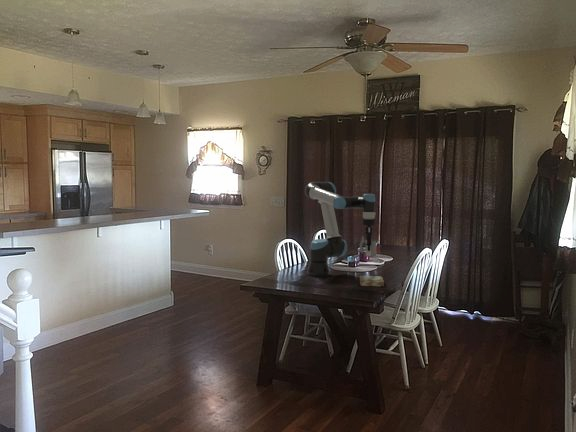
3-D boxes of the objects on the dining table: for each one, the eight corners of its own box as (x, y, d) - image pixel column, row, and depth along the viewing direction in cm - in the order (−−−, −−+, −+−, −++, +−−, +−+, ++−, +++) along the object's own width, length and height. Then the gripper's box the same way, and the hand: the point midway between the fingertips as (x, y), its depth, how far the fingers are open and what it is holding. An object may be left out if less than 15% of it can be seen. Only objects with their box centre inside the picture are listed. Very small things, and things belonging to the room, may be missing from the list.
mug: (373, 257, 295) (374, 238, 293) (356, 255, 302) (357, 236, 301) (379, 255, 301) (379, 237, 300) (362, 253, 308) (362, 235, 307)
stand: (360, 285, 295) (360, 280, 295) (359, 280, 309) (359, 275, 308) (383, 286, 294) (383, 281, 293) (381, 281, 307) (381, 275, 307)
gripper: (376, 220, 288) (375, 257, 289) (374, 217, 308) (373, 252, 310) (363, 219, 288) (362, 257, 290) (362, 217, 309) (361, 252, 311)
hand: (368, 254), depth 300 cm, fingers closed on mug, 8 cm apart
